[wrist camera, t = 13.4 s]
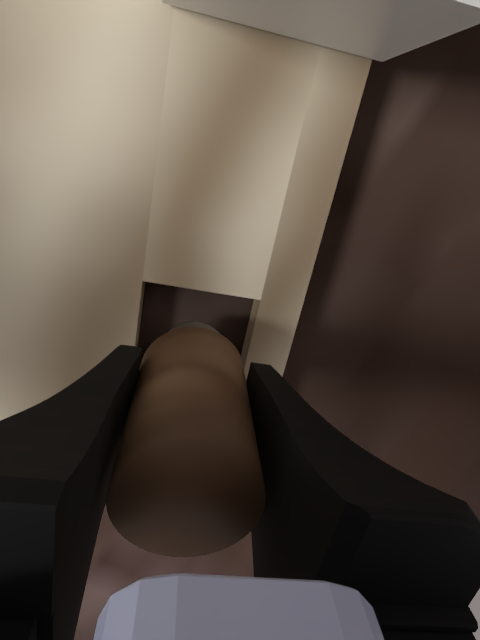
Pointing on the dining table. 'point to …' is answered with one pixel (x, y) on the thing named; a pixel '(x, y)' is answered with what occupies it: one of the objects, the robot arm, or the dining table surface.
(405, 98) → the dining table surface
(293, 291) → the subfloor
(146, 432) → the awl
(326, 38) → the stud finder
